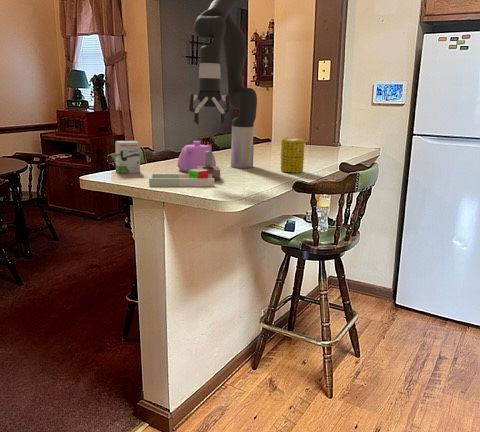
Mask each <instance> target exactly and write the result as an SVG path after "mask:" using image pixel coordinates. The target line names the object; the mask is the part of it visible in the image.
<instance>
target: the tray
mask: <svg viewBox="0 0 480 432" xmlns="http://www.w3.org/2000/svg"><path fill="white" fill-rule="evenodd" d="M178 174H179V173H149V177H148V187H180V186H179V178H178Z"/></svg>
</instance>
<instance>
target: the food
mask: <svg viewBox="0 0 480 432" xmlns="http://www.w3.org/2000/svg"><path fill="white" fill-rule="evenodd" d="M280 144H281V147H280V148H281V149H280V172H282V173H284V172H285V173H287V172H288V173H295V174H298V173H299V174H300V173H302V172H303V171H304V163H305V162H304V160H305V159H304V158H305V139H303V138H301V137H298V138H297V137H295V138H294V137H290V136H287V137H283V138H281V143H280Z"/></svg>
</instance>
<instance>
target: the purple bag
mask: <svg viewBox="0 0 480 432" xmlns="http://www.w3.org/2000/svg"><path fill="white" fill-rule="evenodd" d="M192 143H193V144H187V145H184V147H182V148H181V152H180V154H179V156H178V159H177V167H178V168H179V170H180V171H182V172H183V173H189V170H191V169H197V166H205V152H206V151H211V152H212V166H217V162H216V157H215V155H214V153H213V151H212V144H206V145H205V144H201V143H202V141H201V140H193V141H192Z"/></svg>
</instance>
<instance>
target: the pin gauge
mask: <svg viewBox="0 0 480 432" xmlns="http://www.w3.org/2000/svg"><path fill="white" fill-rule="evenodd" d="M211 151H212V150H211ZM211 151H206V152H205V169H212V153H213V151H212V152H211Z"/></svg>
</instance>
